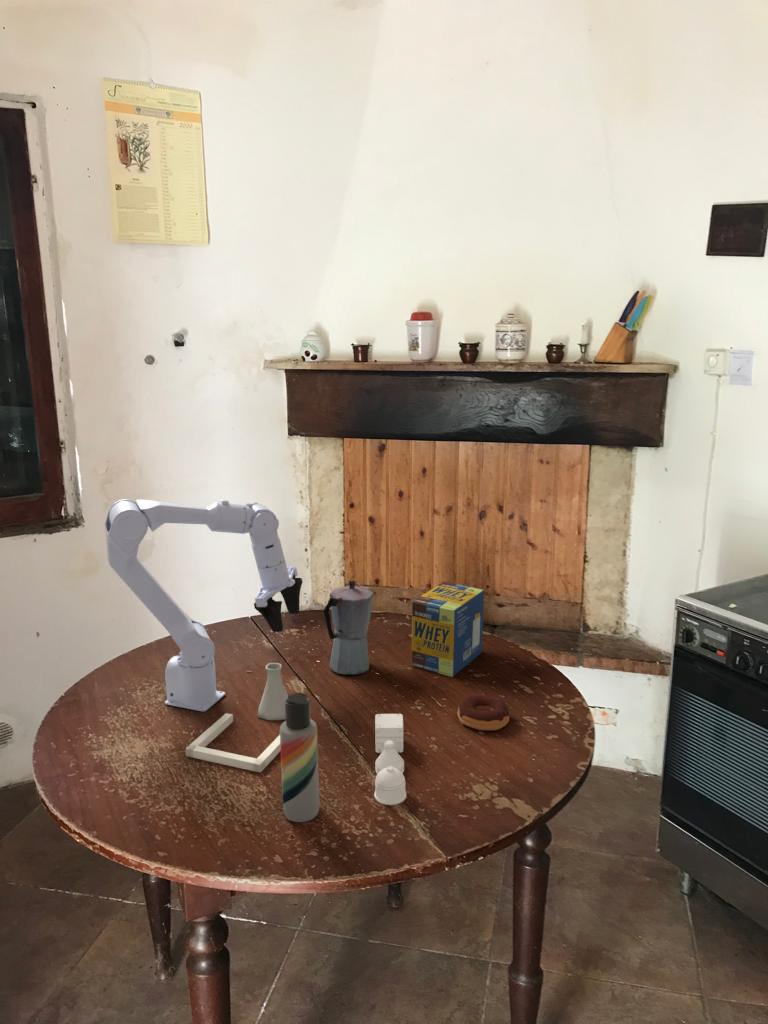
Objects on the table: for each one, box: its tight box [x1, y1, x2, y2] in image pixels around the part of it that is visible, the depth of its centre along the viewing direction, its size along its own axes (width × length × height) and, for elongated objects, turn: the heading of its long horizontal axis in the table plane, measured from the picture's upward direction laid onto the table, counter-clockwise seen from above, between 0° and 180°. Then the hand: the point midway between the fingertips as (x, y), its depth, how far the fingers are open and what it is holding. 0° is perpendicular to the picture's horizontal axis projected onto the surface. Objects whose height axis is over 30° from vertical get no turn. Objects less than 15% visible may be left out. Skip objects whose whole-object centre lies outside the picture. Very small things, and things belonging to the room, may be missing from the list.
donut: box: [456, 694, 510, 732], centre depth 154 cm, size 10×10×4 cm
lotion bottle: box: [279, 692, 320, 823], centre depth 124 cm, size 6×6×20 cm
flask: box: [257, 662, 289, 721], centre depth 156 cm, size 7×7×10 cm
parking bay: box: [185, 712, 281, 773], centre depth 146 cm, size 15×14×2 cm
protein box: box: [411, 581, 485, 678], centre depth 179 cm, size 10×15×16 cm
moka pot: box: [323, 580, 374, 676], centre depth 174 cm, size 10×15×20 cm, turn 148°
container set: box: [373, 713, 407, 806], centre depth 137 cm, size 20×5×6 cm, turn 0°
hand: (286, 621), depth 166 cm, fingers open, 7 cm apart
